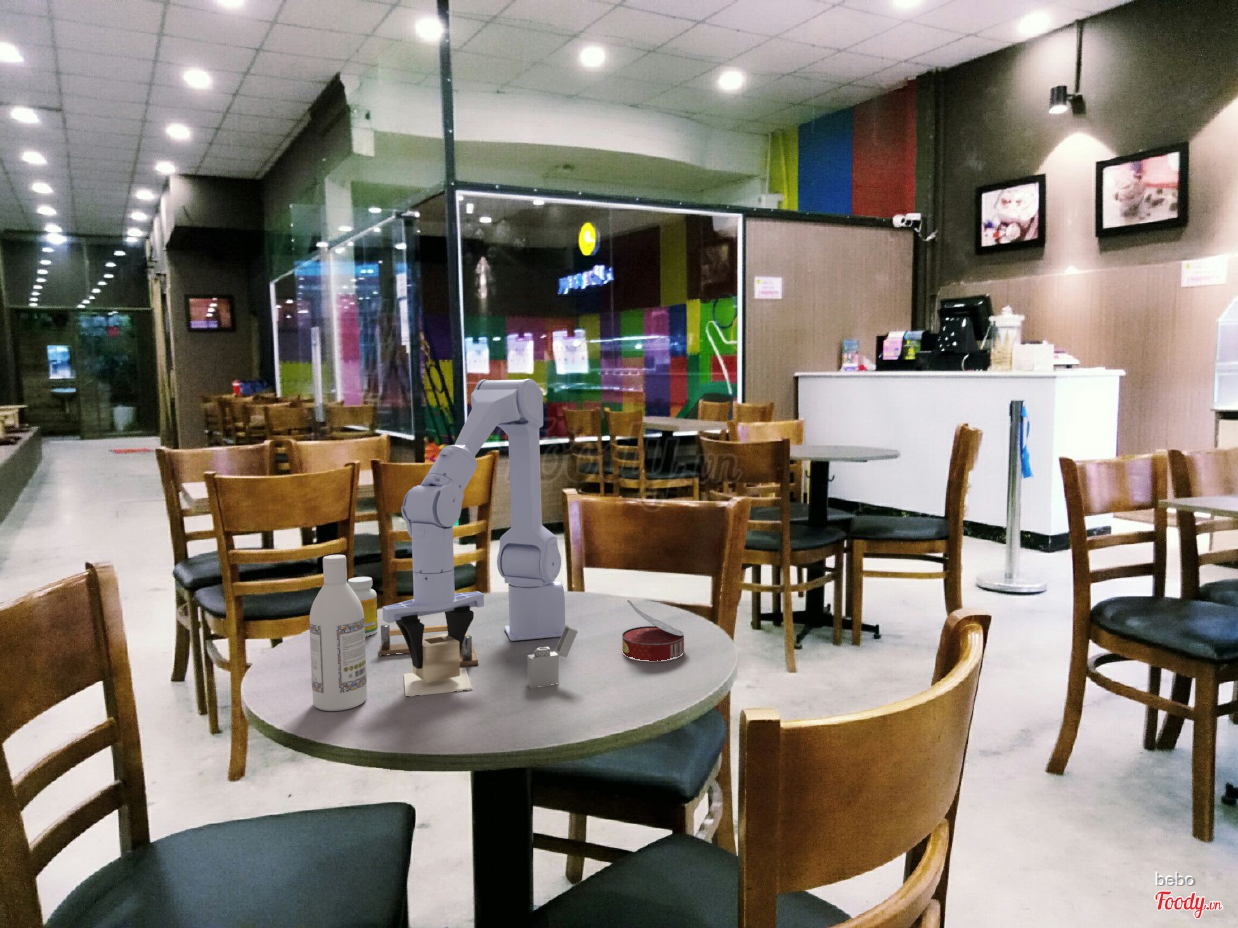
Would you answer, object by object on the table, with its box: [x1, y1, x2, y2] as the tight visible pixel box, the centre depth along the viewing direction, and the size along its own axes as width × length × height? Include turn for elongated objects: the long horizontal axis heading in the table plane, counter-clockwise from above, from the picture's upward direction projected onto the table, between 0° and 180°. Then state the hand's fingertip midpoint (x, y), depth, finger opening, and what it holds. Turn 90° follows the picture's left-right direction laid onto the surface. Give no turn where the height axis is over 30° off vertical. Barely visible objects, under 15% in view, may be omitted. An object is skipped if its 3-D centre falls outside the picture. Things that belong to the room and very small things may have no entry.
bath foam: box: [308, 554, 368, 712], centre depth 112 cm, size 7×7×20 cm
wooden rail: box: [378, 624, 479, 668], centre depth 131 cm, size 14×12×4 cm
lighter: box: [527, 624, 579, 689], centre depth 119 cm, size 7×2×8 cm, turn 113°
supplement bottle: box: [347, 576, 379, 637], centre depth 144 cm, size 5×5×10 cm
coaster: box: [403, 667, 473, 698], centre depth 120 cm, size 9×9×1 cm
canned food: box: [621, 599, 685, 661], centre depth 133 cm, size 11×10×10 cm
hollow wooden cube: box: [412, 633, 461, 683], centre depth 120 cm, size 5×5×5 cm
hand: (436, 662), depth 120 cm, fingers closed on hollow wooden cube, 5 cm apart
